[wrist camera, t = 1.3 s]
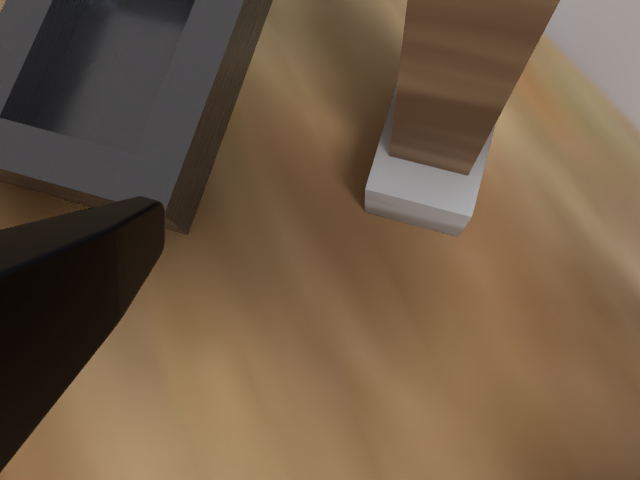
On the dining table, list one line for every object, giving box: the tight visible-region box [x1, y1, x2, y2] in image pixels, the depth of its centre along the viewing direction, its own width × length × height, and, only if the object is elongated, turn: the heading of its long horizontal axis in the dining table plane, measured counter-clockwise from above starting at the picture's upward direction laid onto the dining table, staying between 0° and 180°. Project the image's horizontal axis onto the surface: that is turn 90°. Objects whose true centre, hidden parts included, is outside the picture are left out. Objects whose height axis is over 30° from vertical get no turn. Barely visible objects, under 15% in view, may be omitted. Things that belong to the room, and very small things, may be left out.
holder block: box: [0, 0, 272, 234], centre depth 25 cm, size 12×10×3 cm
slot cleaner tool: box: [365, 0, 560, 237], centre depth 18 cm, size 6×4×14 cm, turn 163°
